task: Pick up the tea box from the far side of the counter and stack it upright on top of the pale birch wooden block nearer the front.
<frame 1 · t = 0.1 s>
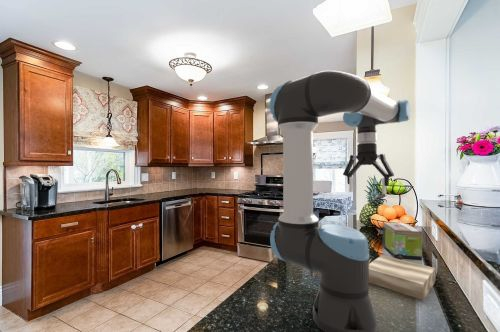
hand: (367, 192, 105), 28 cm above the counter, tool pointing down, fingers open, 13 cm apart
birch base block: (399, 282, 84), on the counter
tea box: (400, 262, 101), on the counter
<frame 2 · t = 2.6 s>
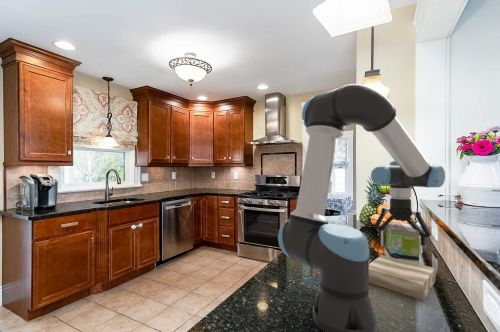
hand: (400, 249, 101), 5 cm above the counter, tool pointing down, fingers open, 13 cm apart
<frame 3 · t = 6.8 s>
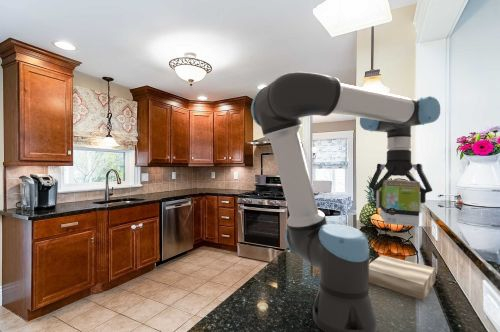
hand: (398, 210, 88), 24 cm above the counter, tool pointing down, fingers closed on tea box, 12 cm apart
tea box: (398, 221, 88), point 19 cm above the counter, touching gripper
everything else where it was.
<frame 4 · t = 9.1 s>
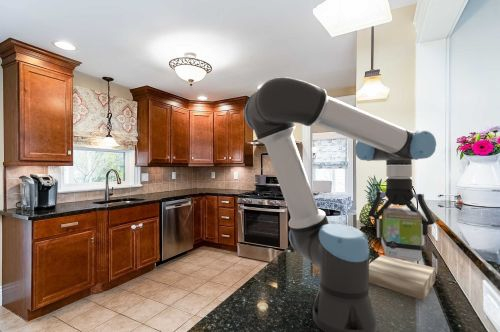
hand: (399, 240, 84), 14 cm above the counter, tool pointing down, fingers closed on tea box, 12 cm apart
tea box: (399, 252, 84), point 10 cm above the counter, touching gripper
everything else where it was.
when the fingers open (10 cm above the counter, at t = 10.5 s): tea box drops 2 cm, resting on birch base block.
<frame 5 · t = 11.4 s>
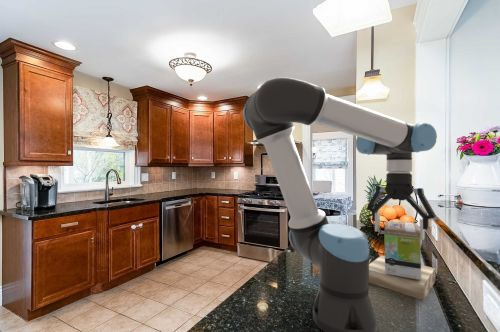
hand: (398, 234, 84), 16 cm above the counter, tool pointing down, fingers open, 13 cm apart
birch base block: (399, 282, 84), on the counter, touching tea box
tea box: (402, 269, 83), point 4 cm above the counter, touching birch base block, gripper
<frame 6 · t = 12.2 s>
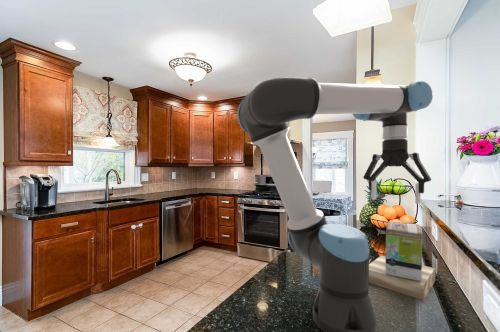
hand: (394, 201, 84), 27 cm above the counter, tool pointing down, fingers open, 13 cm apart
tea box: (403, 270, 82), point 4 cm above the counter, touching birch base block
everything else where it was.
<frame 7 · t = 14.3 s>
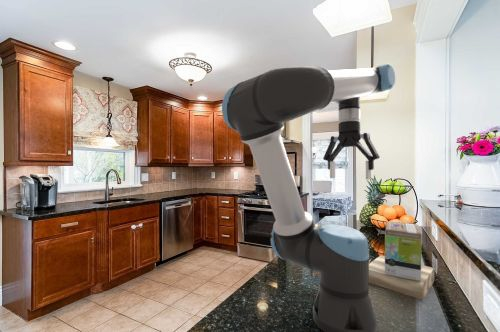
hand: (349, 178, 91), 35 cm above the counter, tool pointing down, fingers open, 13 cm apart
nothing on the counter moved.
at the end: tea box inside the target area on the birch base block (1.4 cm from its centre), point 4.8 cm above the birch base block's base; tea box tilted 0°; the gripper is holding nothing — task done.
